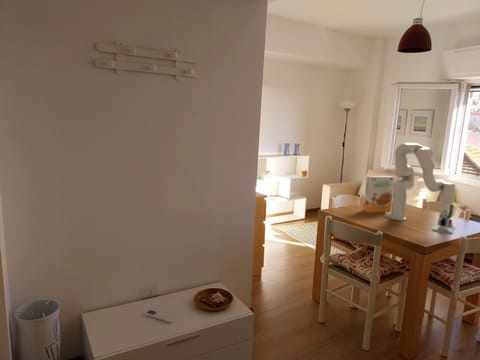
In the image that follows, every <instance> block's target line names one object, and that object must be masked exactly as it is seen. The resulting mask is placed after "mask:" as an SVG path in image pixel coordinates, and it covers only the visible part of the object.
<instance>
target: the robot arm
mask: <svg viewBox="0 0 480 360" xmlns="http://www.w3.org/2000/svg"><path fill="white" fill-rule="evenodd" d="M394 151H395V152H394V157H395V159H394V161H395V162H394V164H395V165H394V167H395V168H394V172H395V176H396V177H397V178H401V179H397V180H395V181H394V183H393V195H392V204H391V207H392V208H391V211H389V212H387V211H386V212H385V215H388V218H389V219H390V220H391V219H392V220H394V221H406V220H407V217H405V215H406V207H407V206H406V205H407V198H408V197H407V191H411V190H412V189H413V188H414V185H415V172H414V168H413V166H411V165H409V164H408V158H407V155H415V157H416V160H417V162H418V164H419V165H420V168H421V169H422V180H423V182H424V184H425V186H426V188H427V189H428V190H429V192H431V193H432V192H433V193H435V192H441V196H440V203H441V202H442V205H441V204H440V208H441V211H440V210H439V214H440V216H441V215H442V219H441V224H440V225H442V226H446V218H447V216H448V214H449V210H450V204H453V202H454V197H455V190H456V184H455V183H453V182H446V181H443V180H436V178H435V177H434V169H435V167H436V165H435V163H434V162H433V159H432V157H433V155H434V152H433V150H432V149H431V148H429V147H427V146H424V145H421V144H419V143H415V142H404V143H401V144H399V145H398V146H397V147H396V148H395V150H394Z"/></svg>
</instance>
